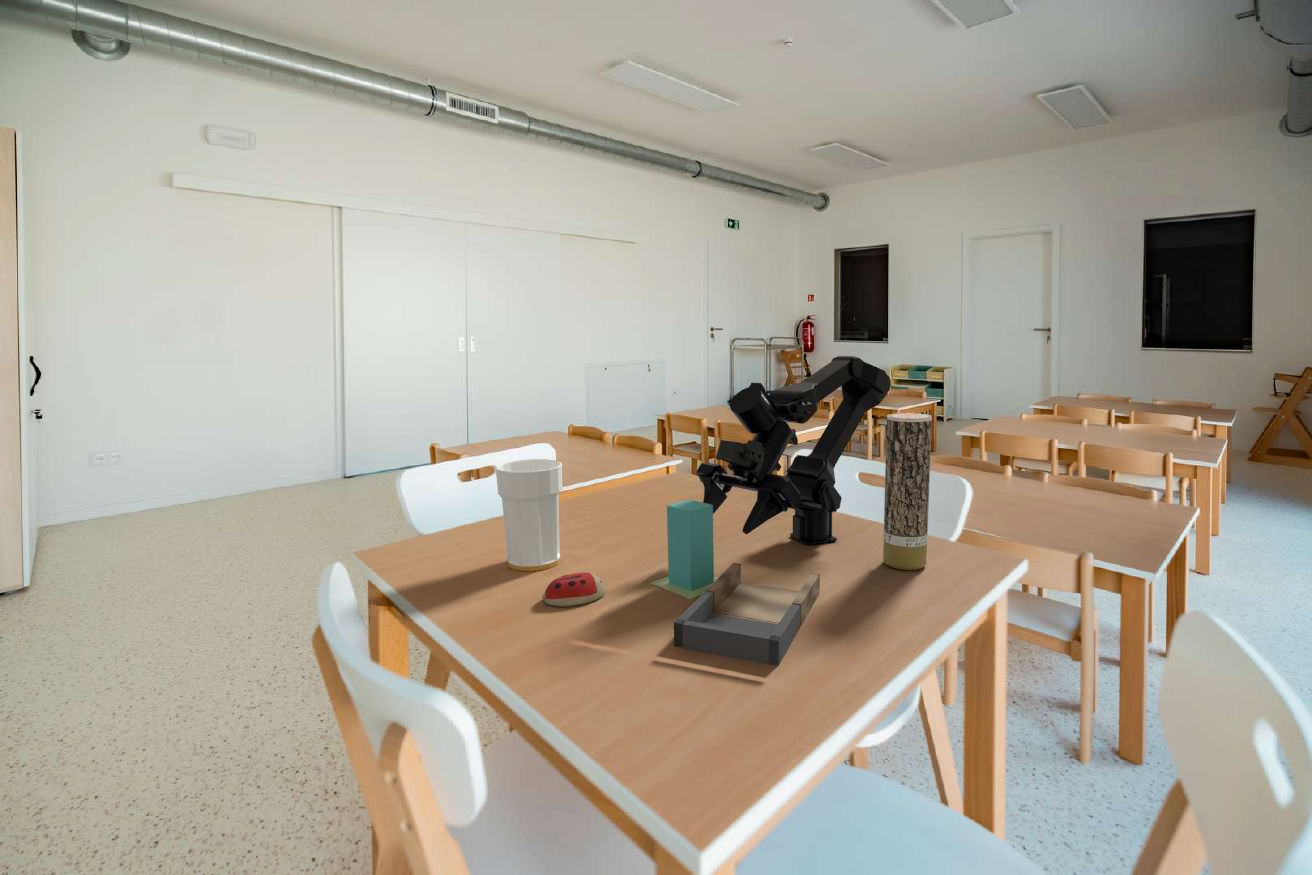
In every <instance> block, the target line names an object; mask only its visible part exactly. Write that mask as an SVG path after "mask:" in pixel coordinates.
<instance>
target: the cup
mask: <svg viewBox="0 0 1312 875" xmlns="http://www.w3.org/2000/svg"><path fill="white" fill-rule="evenodd" d="M495 475H496V476H495V478H496V485H497V486H496V488H497V494H498V495H499V497H500V498H501V502H502V513H503V515H502V516H503V521H504V522H503V523H504V524H503V525H504V535H505V544H506V546H505V547H506V554H507V555H506V557H507V564H508V565H507V566H508V567H509V569H510V568H511V569H512V570H515V571H518V572H519V571H520V572H536V571H543V570H547V569H548V570H549V569H551V568H553V567H555V566H557V565H559V563H560V562H561V552H560V515H559V514H560V510H559V509H560V507H559V501H560V500H559V494H560V493H561V491H562V490H563V464H562V462H561V461H557V460H554V459H546V458H545V459H542V458H541V459H539V458H536V459H535V458H534V459H520V460H513V461H507V462H504V463H503V462H502V463H500V464H498V465H497V466H495Z"/></svg>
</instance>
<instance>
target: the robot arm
mask: <svg viewBox="0 0 1312 875" xmlns="http://www.w3.org/2000/svg"><path fill="white" fill-rule="evenodd" d="M891 385H892V382H891V378H890V376H889V374H887V372H886V370H884V369H881V368H879V367H877V366H875V365H873V364H870V363H868V362H866V361H864V360H863V359H861V358H860V357H858V356H856V355H855V356H854V355H837V356H836V357H833V358H832V359H831V361H830V362H828V363H827V364H826V365H824V366H823V367H821V368H820V369H818V370H816V371H815V372H813V373H812V374H811V375H810V376H807V377H806V378H805V379H804V380H802V381H800V382H797V383H793V384H788V385H783V386H781V387H779V388H775V389H774V390H772V391H771V392H770V394H768V392H767V390H766V389H765V386H764V385H763V383H762V382H751V383H750V385H748V387H745V388H742V389H741V390H740V391H738V392H737V393H736V394H734V395H733V396H732V397H731V399H730V402H729V409H730V411H731V412H732V413H733V414H734V416H735V417H736V419H738V421H739V423H741V425H742V426H743V427H744V429H745V430H746V431H747V432H748V433H750V434H753V437H752V439H749V440H747V442H746V443H743V442H739V441H738V442H737V441H732V440H726V439H725V440H724V439H720V440H719V445H718V447H717V451H716V454H715V459H716V460H719V461H722V462H725V463H728V464H727V465H726V467H727V468H728V469H729V471H732V472H733V473H732V474H729V473H728V472H727V471H726V470H725V468H724V467H723V466H722V465H721V464H717V463H712V462H706V461H705V462H703V463H700V465H699V466H698V468H697V470H696V471H695V475H696V476H697V477H698V479H699V481H700V482H701V483H702V484H703V489H704V491H703V493H704V494H703V501H702V502H703V503H707V504H711V505H713V515H714V514H715V513H716V511H717V510H718V509H719V508H720V507H721V506H722V504H724V502H725V501H726V500H727V499H728V495H727V494H728V493H729V492H731V490H732V489H733V488H737V489H743V490H748V491H752V492H757V494H756V495H757V496H756V500H755V503H754V505H753V506H752V509H751V510H750V512H749V515H748V517H747V518H746V521H745V523H744V525H743V527H742V533H743V534H744V535H748V534H751V533H752V532H753V531H754V530H756V529H757V528H758V527H760V526H762V524H765V523H766V522H767V521H769V520H770V519H772V518H774V517H775V516H777V515H779V514H781V513H784V512H785V513H786V512H788V510H789V509H790V510H794V515H792V532H790V533H789V536H790V537H791V538H793V539H795V540H796V541H798V542H801V543H802V544H804V545H806V546H811V545H817V544H824V543H825V544H826V543H830V542H831V543H832V542H836V541H837V540H838V538H837V537H836V536H833V513H836V512H838V509H840V508H841V503H842V496H841V494H840V493H839V492H838V490H837V488H836V487H835V484H836V477H835V470H834V469H835V467H836V465H837V463H838V461H839V460H840V458H841V457H842V455H843V453H844V450H845V449H846V448H847V446H848V443H849V442H850V440H851V438H852V436H853V435H854V434H855V432H856V430H857V428H858V426H859V424H860V423H861V420H862V419H863V418H864V416H865V415H866V413H867V412H869V411H870V410H872V409H874V408H875V407H877V406H879V405H880V404H881V403H882V402H883V401H884V398H885V397H886V396H887V395H888V393H889V391H890V390H891ZM839 388H840V389H841V395H842V400H841V401H840V404H839V405H838V407H837V409H836V410H835V412H834V414H833V416H831V418H830V421H829V422H828V424H827V425H826V427H825V429H824V430H823V432H822V434H821V435H820V438H819V439H818V440H817V442H816V444H815V446H814V448H813V449H812V450H811V452H810V453H809V454H808V455H802V454H797V455H796V456H795V457H794V458H793V460H792V463H791V464H790V466H789V467H788V468H787V469H786V471H785V472H786V474H785V475H780V474H775V473H774V472H776V471H777V472H780V470H781V468H782V465H781V464H780V463H779V462H780V460H781V458H782V456H783V454H784V452H785V450H786V449H787V448H788V445H792V446H797V445H798V444H799V439H798V437H797V436H798V435H797V433H796V432H797V430H796V429H795V428H791V427H790V425H789V424H788V423H793V424H805V423H807V422H808V421H810V419H812V417H813V416H814V415H815V414H816V413H817V412H818V410H819V409H818V408H819V407H818V405H819V403H820V402H822V401H823V400H824V399H825V398H826V397H828V396H830V395H831V394H832V393H834V392H835V391H836V390H838V389H839Z"/></svg>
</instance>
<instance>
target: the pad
mask: <svg viewBox="0 0 1312 875" xmlns="http://www.w3.org/2000/svg"><path fill="white" fill-rule="evenodd" d="M718 578H719V577H718V576H715V575H714V582H715V581H716V580H717V579H718ZM712 584H713V583H711V584H709V585H706V586H704V587H701V588H698V589H696V590H693V591H689V590H687V589H684V588H681V587H679V586H676V585H673V584H671V583H669V575H668V576H666V577H663V578H659V579H656V580H654V581H652V582H650V585H653V586H656V587H659V588H661V589H664V590H666V591H669V592H670V593H673V594H676V595H678V596H680V597H683V598H687V599H689V600H693V599H695V598H699V597H700V596H701V595H702V594H703V593H704V592H705V591H706V590H707V589H708V588H709V587H710V586H711V585H712Z"/></svg>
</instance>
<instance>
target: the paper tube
mask: <svg viewBox="0 0 1312 875" xmlns="http://www.w3.org/2000/svg"><path fill="white" fill-rule="evenodd" d="M932 423H933V419H932V415H931V414H925V413H913V412H904V413H903V412H902V413H901V412H899V413H890V414H887V417H886V434H885V435H886V440H885V441H886V442H885V469H884V470H885V471H884V474H885V475H884V476H885V478H884V506H883V507H884V510H883V512H884V513H883V514H884V515H883V548H882V549H883V550H882V552H883V553H882V555H883V557H882V559H883V562H884V564H885V565H887V566H888V567H890V568H893V569H897V570H903V571H915V570H920V569H923V568H924V567H925V566H926V564H927V554H928V553H927V552H928V551H927V550H928V534H929V533H928V530H929V528H928V527H929V505H930V504H929V503H930V480H931V479H930V478H931V456H932V455H931V452H932V451H931V450H932V427H933V424H932Z"/></svg>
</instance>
